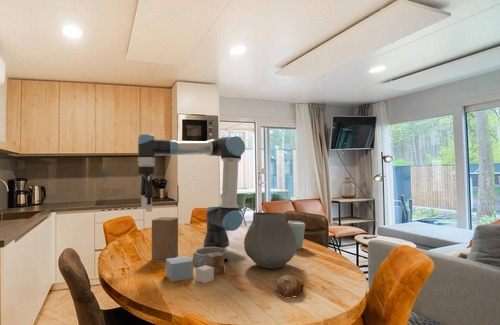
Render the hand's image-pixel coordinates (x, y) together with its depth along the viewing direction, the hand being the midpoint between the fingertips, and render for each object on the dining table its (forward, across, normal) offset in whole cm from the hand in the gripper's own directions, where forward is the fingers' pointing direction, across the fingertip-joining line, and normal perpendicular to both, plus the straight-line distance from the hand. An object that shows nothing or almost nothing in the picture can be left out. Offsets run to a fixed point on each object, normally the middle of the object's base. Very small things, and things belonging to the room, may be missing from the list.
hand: (146, 210), depth 151 cm
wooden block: (+26, -6, +10) cm, 29 cm away
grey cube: (+26, +35, +17) cm, 47 cm away
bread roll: (+26, +63, +40) cm, 79 cm away
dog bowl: (+26, +11, +29) cm, 40 cm away
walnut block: (+26, +29, +24) cm, 46 cm away
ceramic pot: (+26, +32, +50) cm, 65 cm away
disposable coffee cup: (+26, +11, +81) cm, 86 cm away
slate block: (+26, +27, +9) cm, 38 cm away
